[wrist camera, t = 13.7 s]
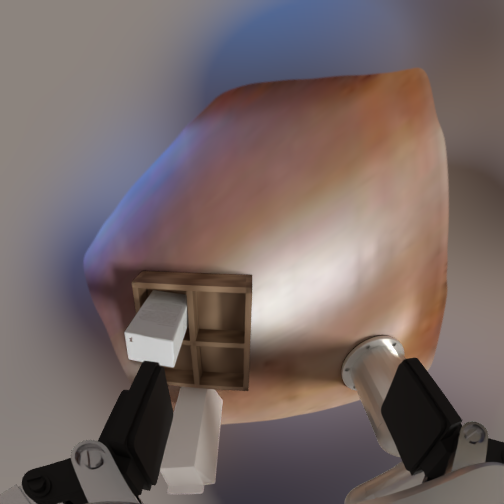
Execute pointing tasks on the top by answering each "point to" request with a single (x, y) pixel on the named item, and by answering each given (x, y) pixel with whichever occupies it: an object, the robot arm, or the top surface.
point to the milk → (193, 441)
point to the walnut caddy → (207, 327)
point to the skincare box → (158, 329)
